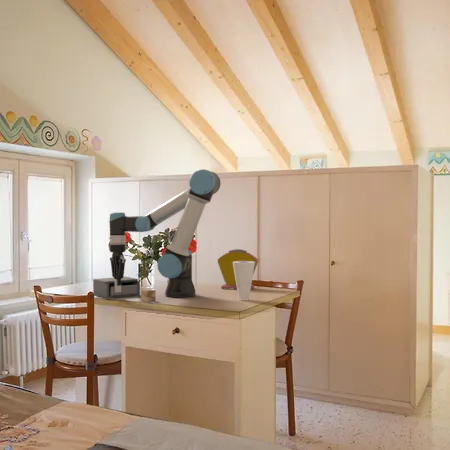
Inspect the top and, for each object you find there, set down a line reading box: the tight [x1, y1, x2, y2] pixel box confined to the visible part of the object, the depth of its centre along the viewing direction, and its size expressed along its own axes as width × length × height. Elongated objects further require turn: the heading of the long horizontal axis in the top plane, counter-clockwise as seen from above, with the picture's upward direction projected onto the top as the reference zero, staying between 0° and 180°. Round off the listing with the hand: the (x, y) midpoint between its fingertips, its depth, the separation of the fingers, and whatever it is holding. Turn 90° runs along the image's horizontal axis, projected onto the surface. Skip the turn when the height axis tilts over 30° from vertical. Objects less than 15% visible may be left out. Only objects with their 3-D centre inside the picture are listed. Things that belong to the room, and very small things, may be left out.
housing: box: [92, 276, 141, 299], centre depth 279 cm, size 18×16×8 cm
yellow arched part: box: [217, 248, 258, 290], centre depth 301 cm, size 22×9×22 cm, turn 76°
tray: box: [109, 285, 137, 296], centre depth 277 cm, size 14×15×4 cm
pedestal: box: [140, 288, 157, 303], centre depth 259 cm, size 5×5×5 cm
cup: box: [233, 261, 255, 301], centre depth 260 cm, size 11×11×18 cm
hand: (118, 292), depth 268 cm, fingers closed
